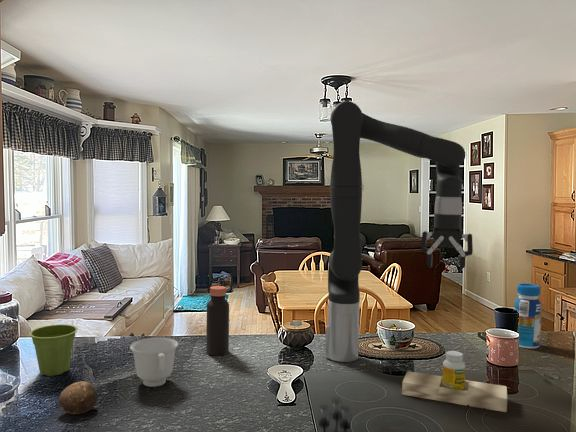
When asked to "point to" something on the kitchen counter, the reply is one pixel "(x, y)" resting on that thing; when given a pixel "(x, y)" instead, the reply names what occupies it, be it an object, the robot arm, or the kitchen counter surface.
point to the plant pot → (53, 347)
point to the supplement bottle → (453, 371)
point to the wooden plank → (455, 391)
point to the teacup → (154, 359)
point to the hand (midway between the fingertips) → (445, 268)
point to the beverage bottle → (528, 315)
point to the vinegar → (217, 322)
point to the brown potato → (78, 398)
